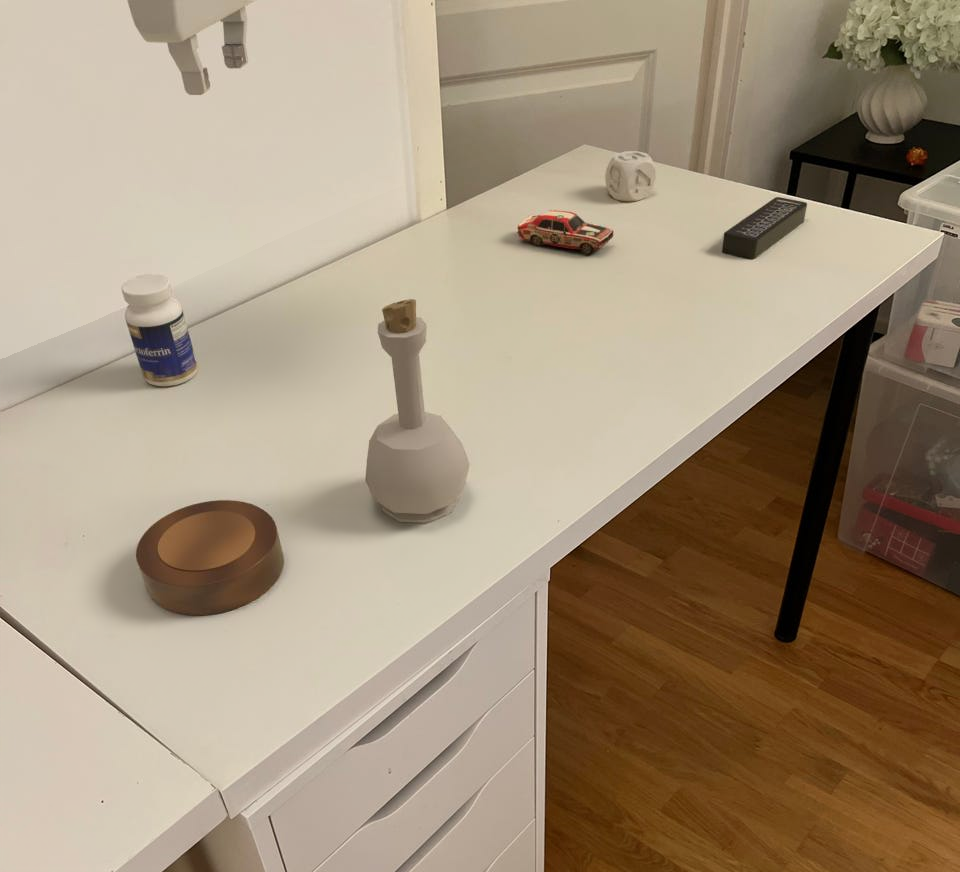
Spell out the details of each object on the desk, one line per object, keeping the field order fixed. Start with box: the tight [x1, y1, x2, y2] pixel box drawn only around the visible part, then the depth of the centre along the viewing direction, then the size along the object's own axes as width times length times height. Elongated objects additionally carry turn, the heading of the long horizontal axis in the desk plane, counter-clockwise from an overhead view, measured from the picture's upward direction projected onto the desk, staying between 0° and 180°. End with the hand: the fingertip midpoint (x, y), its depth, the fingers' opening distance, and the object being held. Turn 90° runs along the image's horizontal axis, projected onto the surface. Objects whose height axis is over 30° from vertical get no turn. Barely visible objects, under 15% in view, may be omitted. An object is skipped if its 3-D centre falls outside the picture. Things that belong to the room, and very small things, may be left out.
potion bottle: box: [364, 298, 470, 524], centre depth 78 cm, size 9×9×18 cm
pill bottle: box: [121, 273, 198, 387], centre depth 99 cm, size 6×6×10 cm
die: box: [604, 150, 657, 202], centre depth 132 cm, size 5×5×5 cm
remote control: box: [721, 196, 808, 260], centre depth 121 cm, size 4×14×2 cm, turn 142°
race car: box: [517, 209, 614, 256], centre depth 122 cm, size 5×12×5 cm, turn 54°
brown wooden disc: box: [135, 499, 285, 616], centre depth 77 cm, size 11×11×3 cm
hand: (218, 79), depth 87 cm, fingers open, 8 cm apart
